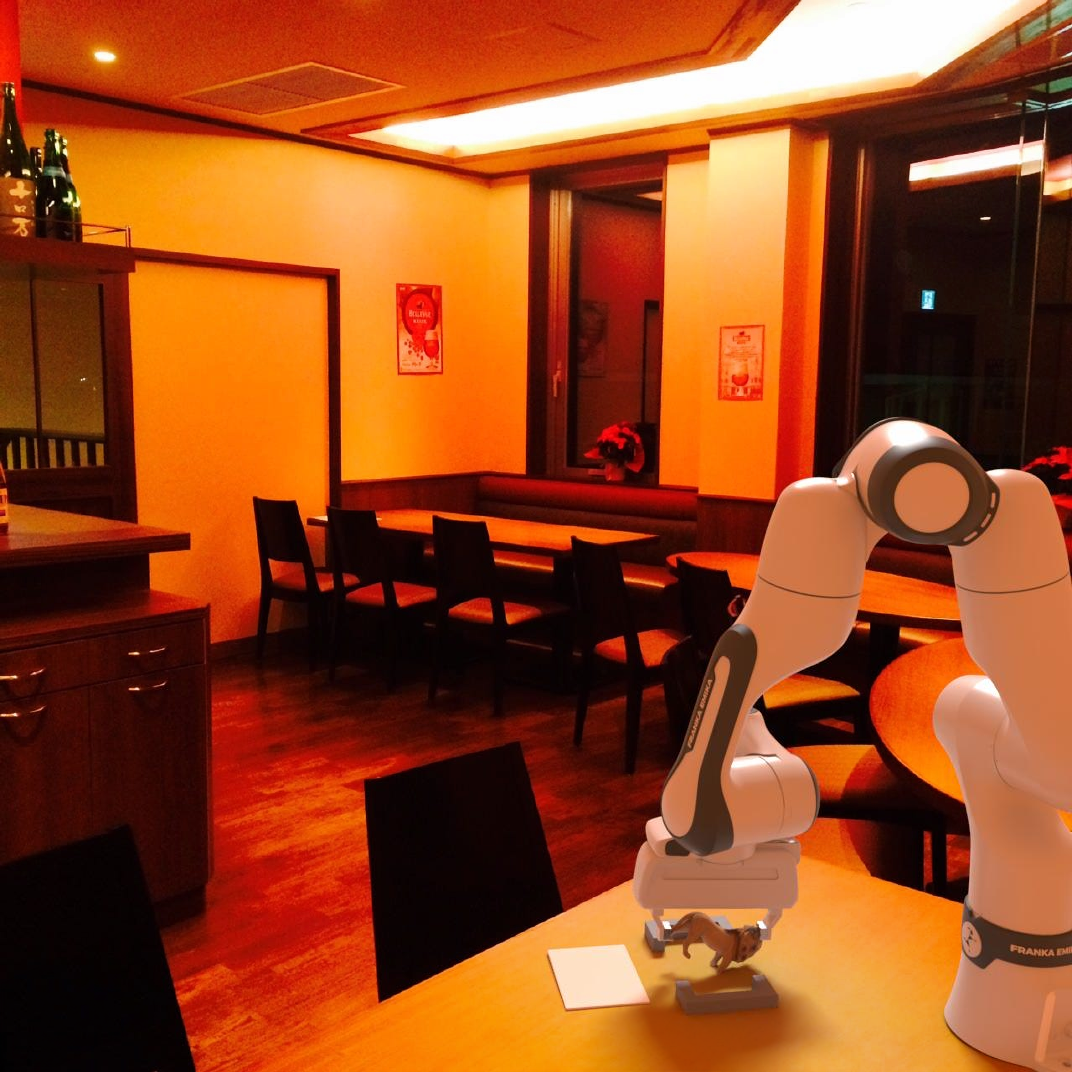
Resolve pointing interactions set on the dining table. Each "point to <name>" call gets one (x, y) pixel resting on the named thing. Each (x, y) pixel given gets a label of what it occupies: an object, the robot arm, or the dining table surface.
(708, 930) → the lion figurine
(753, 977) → the grey bracket pair
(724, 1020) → the dining table surface
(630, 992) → the ceramic tile
